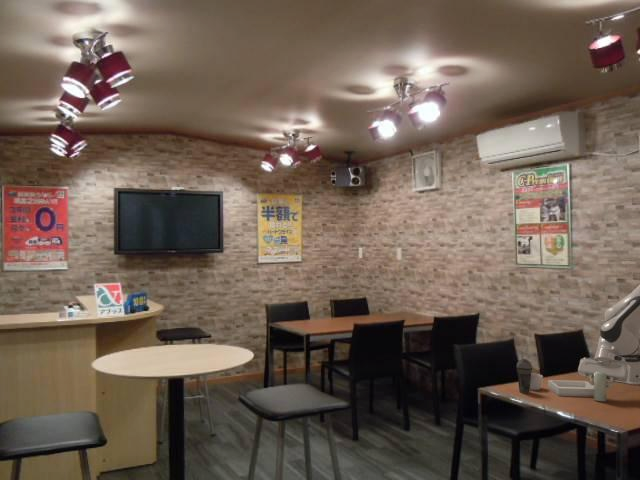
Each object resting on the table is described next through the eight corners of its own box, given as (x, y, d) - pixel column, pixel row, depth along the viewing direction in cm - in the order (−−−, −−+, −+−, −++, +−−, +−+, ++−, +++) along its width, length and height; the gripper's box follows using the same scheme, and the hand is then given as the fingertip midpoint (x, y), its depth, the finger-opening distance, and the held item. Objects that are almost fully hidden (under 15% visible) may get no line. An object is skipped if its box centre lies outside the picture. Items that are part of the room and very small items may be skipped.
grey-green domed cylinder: (603, 398, 249) (603, 371, 249) (608, 401, 244) (608, 374, 244) (592, 398, 249) (592, 371, 249) (596, 401, 244) (596, 374, 244)
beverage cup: (533, 394, 257) (533, 351, 258) (517, 393, 259) (517, 351, 259) (531, 390, 264) (530, 348, 265) (515, 389, 266) (515, 348, 266)
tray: (586, 388, 269) (586, 381, 269) (599, 396, 253) (599, 389, 253) (548, 387, 271) (548, 380, 271) (558, 395, 255) (558, 388, 255)
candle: (521, 389, 267) (521, 376, 267) (524, 385, 275) (524, 372, 275) (541, 391, 263) (541, 378, 263) (543, 387, 271) (543, 374, 271)
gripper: (579, 353, 259) (573, 377, 251) (628, 358, 245) (623, 385, 238) (582, 361, 262) (576, 385, 254) (630, 367, 249) (626, 393, 241)
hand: (599, 385), depth 246 cm, fingers closed on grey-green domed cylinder, 5 cm apart
